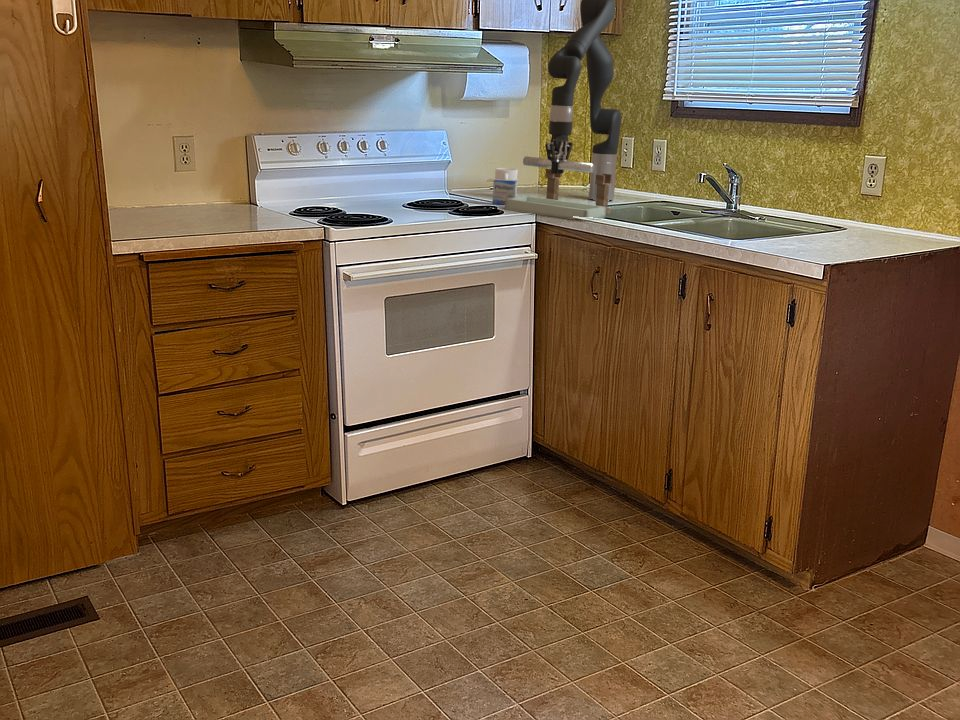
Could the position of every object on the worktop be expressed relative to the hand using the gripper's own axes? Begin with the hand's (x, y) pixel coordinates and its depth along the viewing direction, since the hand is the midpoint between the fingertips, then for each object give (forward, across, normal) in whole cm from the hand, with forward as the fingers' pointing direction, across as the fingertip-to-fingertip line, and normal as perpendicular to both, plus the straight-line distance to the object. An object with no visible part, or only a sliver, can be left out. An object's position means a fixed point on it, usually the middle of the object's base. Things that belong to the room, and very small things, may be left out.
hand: (557, 173), depth 308 cm
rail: (-1, 0, 0) cm, 1 cm away
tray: (+13, 0, 0) cm, 13 cm away
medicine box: (+14, -3, -23) cm, 27 cm away
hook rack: (+13, -14, 0) cm, 19 cm away
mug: (+13, -18, -33) cm, 40 cm away
